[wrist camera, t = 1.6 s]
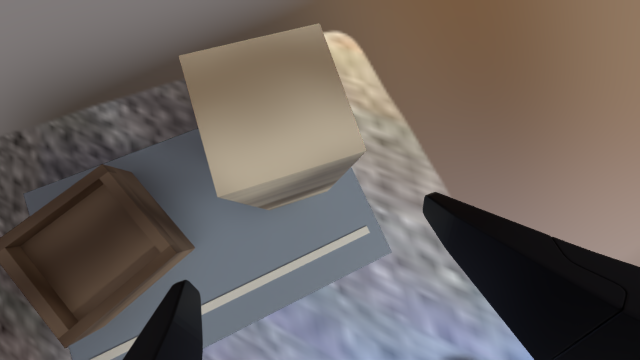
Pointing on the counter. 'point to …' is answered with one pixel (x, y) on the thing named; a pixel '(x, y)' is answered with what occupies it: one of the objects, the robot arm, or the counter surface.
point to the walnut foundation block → (92, 252)
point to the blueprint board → (233, 245)
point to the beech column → (272, 117)
